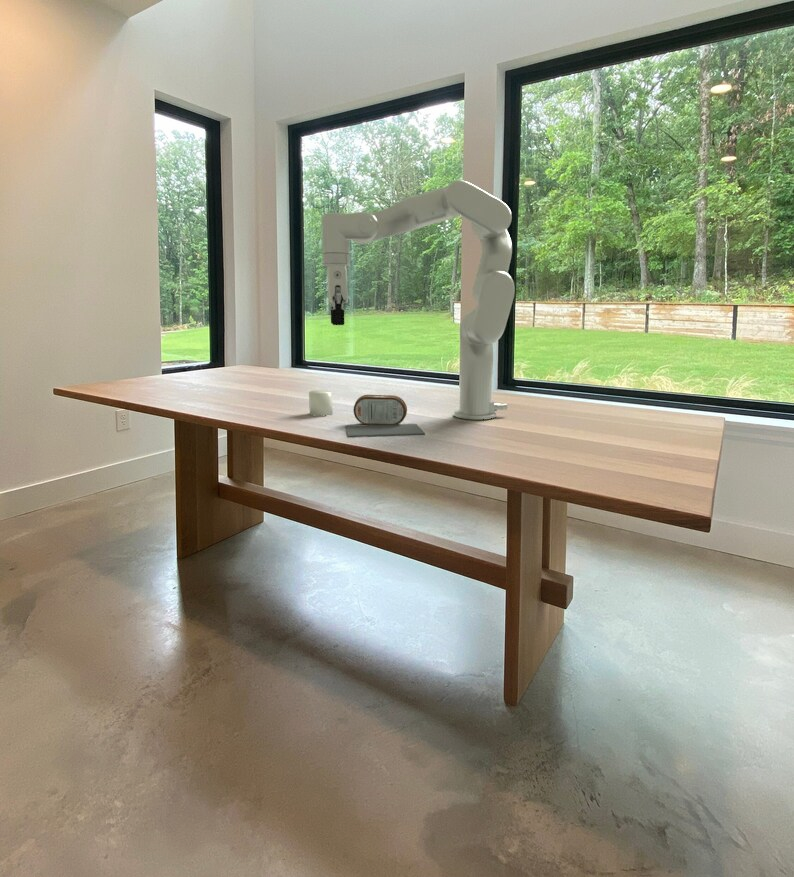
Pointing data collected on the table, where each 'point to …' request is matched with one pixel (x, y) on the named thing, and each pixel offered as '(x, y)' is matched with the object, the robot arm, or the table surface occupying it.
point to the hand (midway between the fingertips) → (337, 324)
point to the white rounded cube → (320, 402)
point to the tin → (380, 410)
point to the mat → (384, 430)
